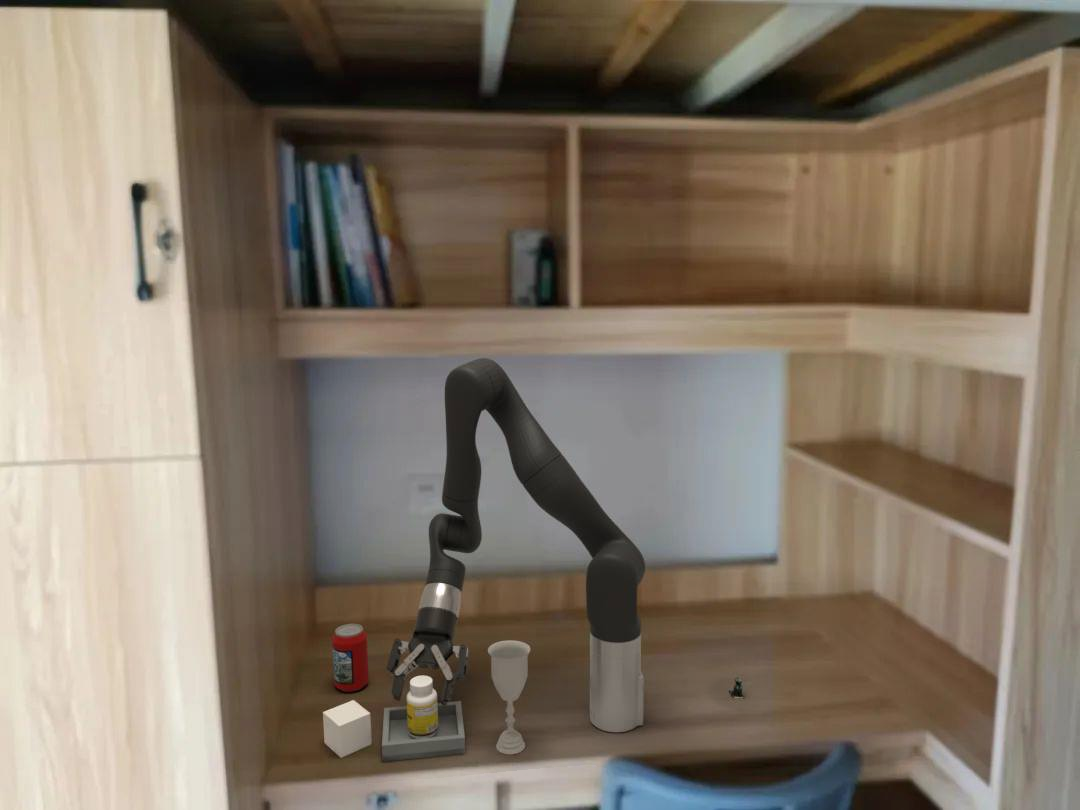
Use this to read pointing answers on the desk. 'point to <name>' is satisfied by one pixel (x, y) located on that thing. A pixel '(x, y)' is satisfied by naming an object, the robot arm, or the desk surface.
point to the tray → (441, 744)
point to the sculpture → (737, 689)
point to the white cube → (347, 728)
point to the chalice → (509, 686)
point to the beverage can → (350, 657)
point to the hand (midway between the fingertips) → (419, 701)
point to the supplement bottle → (422, 708)
